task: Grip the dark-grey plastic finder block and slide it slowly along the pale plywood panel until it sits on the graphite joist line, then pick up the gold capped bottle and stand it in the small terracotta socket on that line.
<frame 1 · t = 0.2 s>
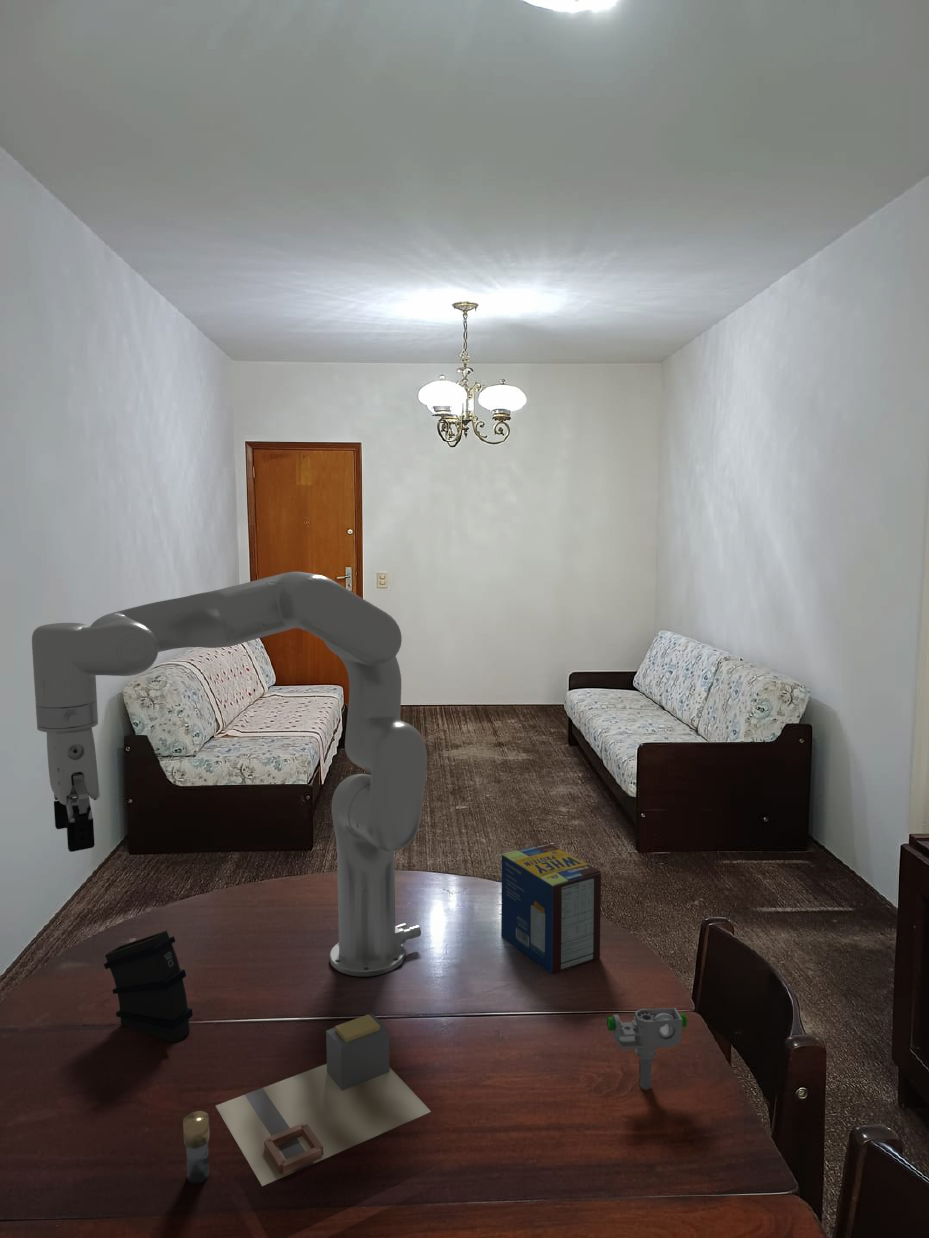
hand: (74, 837, 122), 31 cm above the table, fingers open, 9 cm apart
magazine: (149, 1028, 131), on the table
mechanical component: (644, 1086, 118), on the table
finder: (358, 1071, 119), point 1 cm above the table, touching board
protein box: (548, 948, 155), on the table
board: (322, 1117, 112), on the table
gold capped bottle: (198, 1175, 102), on the table
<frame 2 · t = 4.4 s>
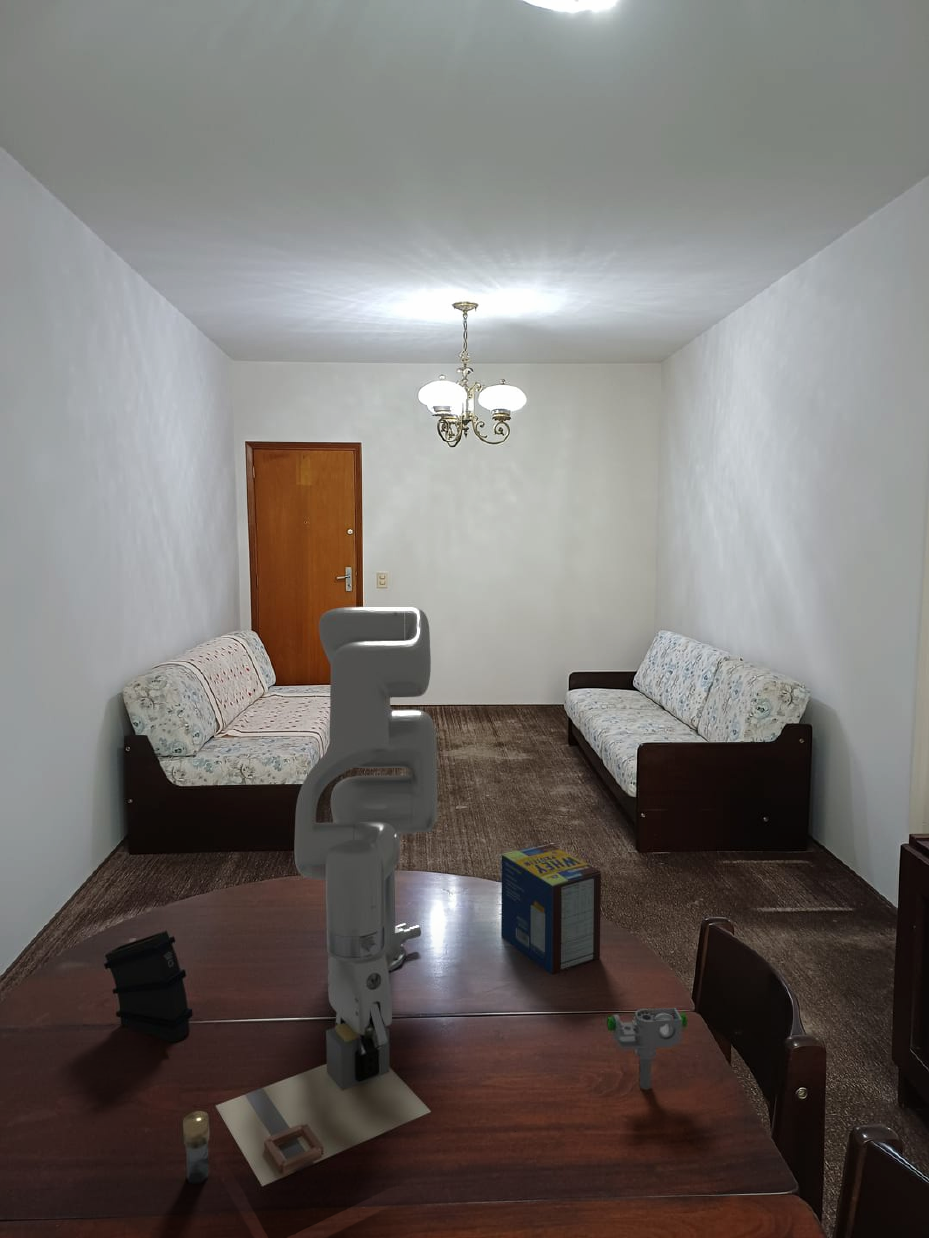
hand: (358, 1065, 119), 2 cm above the table, fingers closed on finder, 4 cm apart
finder: (358, 1071, 119), point 1 cm above the table, touching board, gripper
everything else where it was.
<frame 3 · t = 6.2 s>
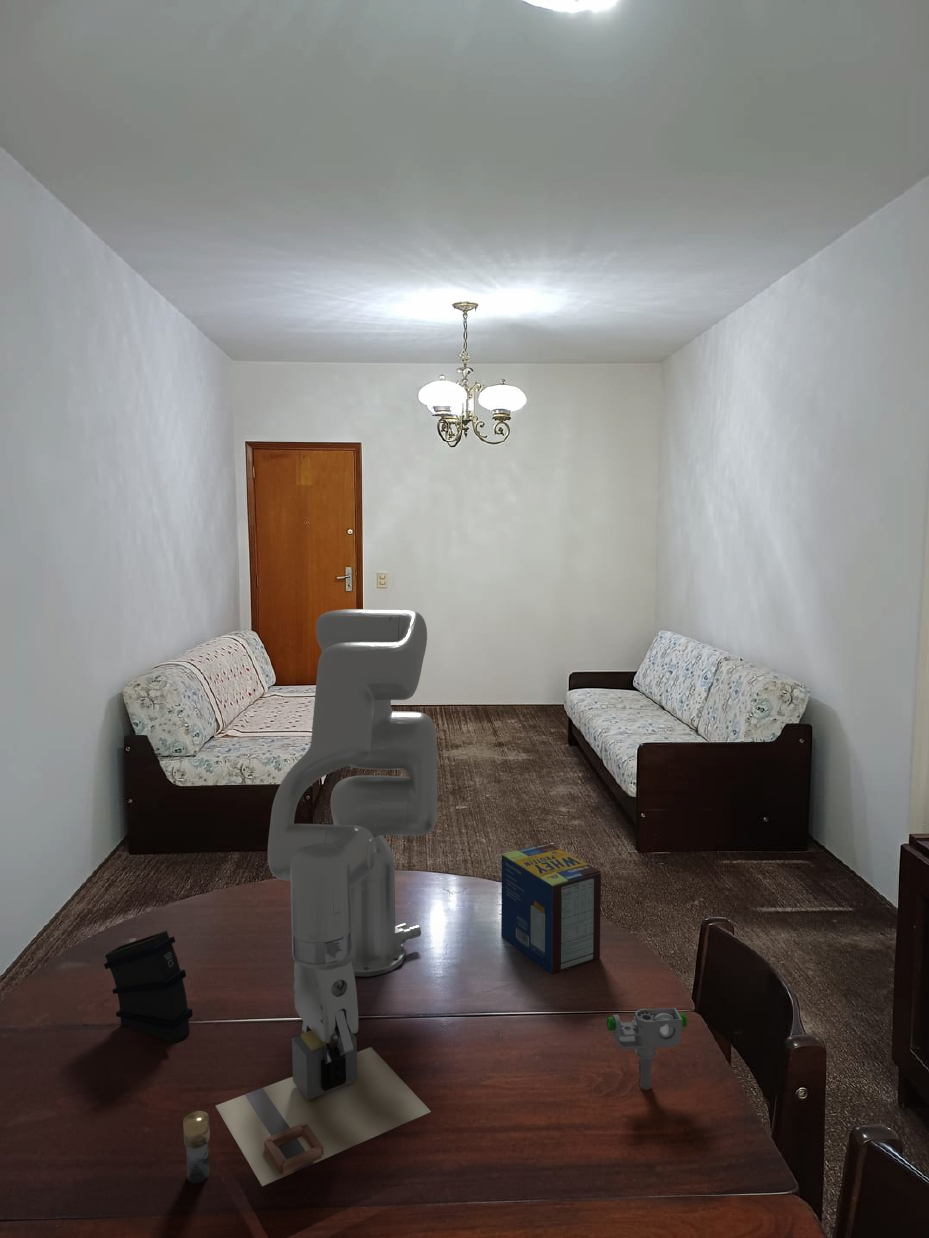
hand: (324, 1073, 116), 3 cm above the table, fingers closed on finder, 4 cm apart
finder: (325, 1080, 116), point 2 cm above the table, touching gripper
everything else where it was.
when the fingers open (3 cm above the table, at t = 7.9 s): finder stays where it is, resting on board.
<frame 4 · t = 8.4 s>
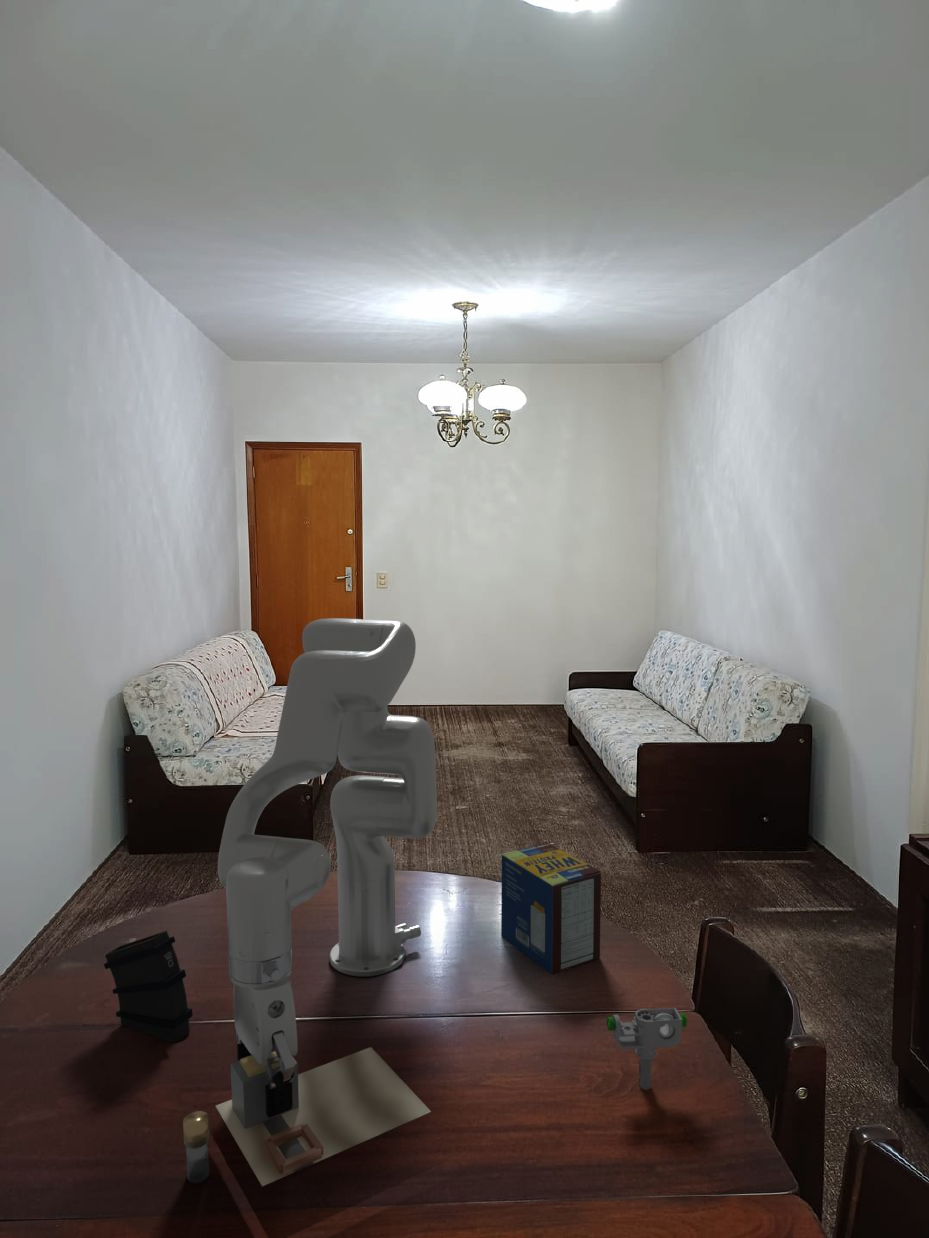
hand: (264, 1090, 111), 4 cm above the table, fingers open, 9 cm apart
finder: (265, 1107, 112), point 1 cm above the table, touching board
everything else where it was.
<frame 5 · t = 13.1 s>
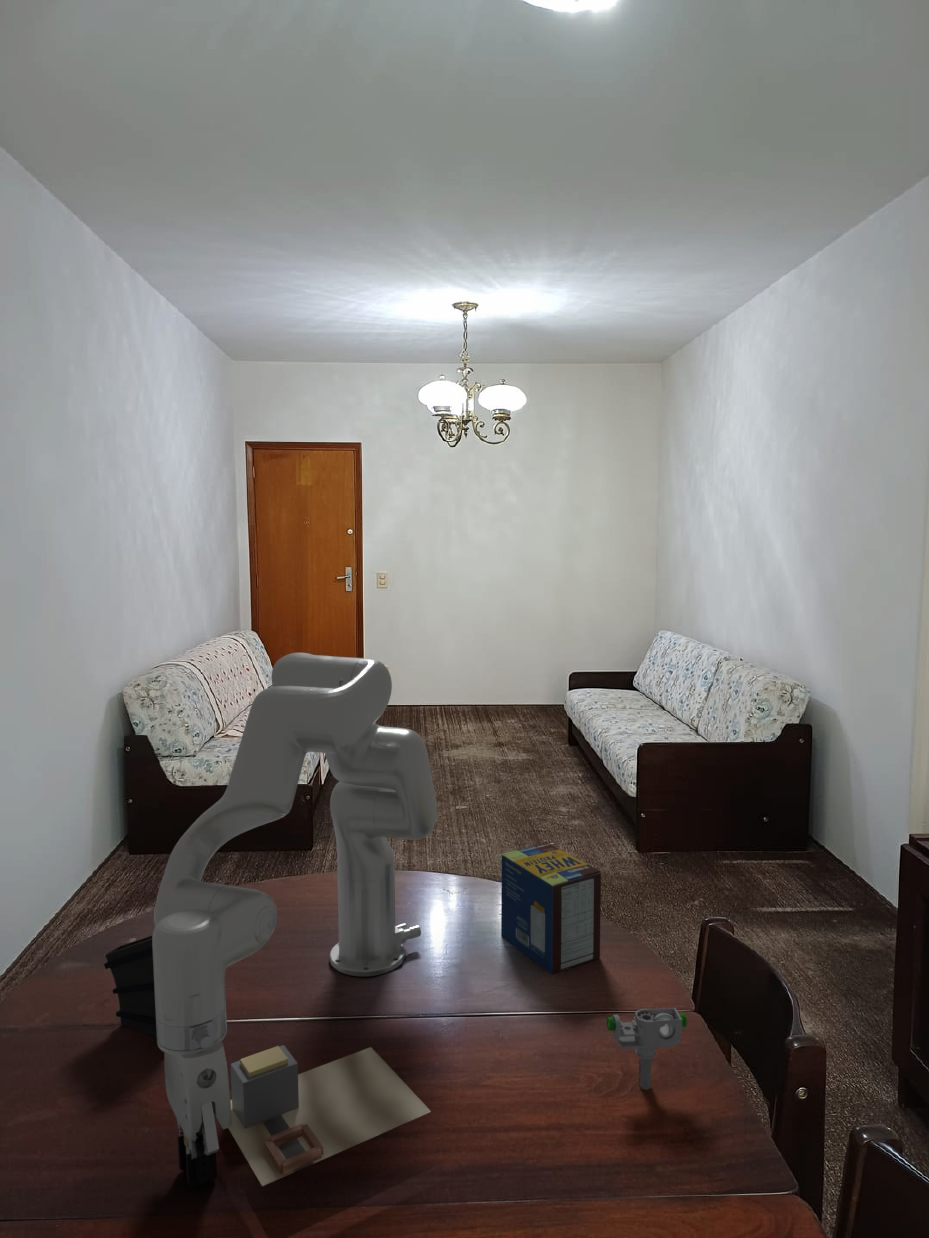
hand: (198, 1172, 102), 0 cm above the table, fingers closed on gold capped bottle, 2 cm apart
gold capped bottle: (198, 1175, 102), on the table, touching gripper
everything else where it was.
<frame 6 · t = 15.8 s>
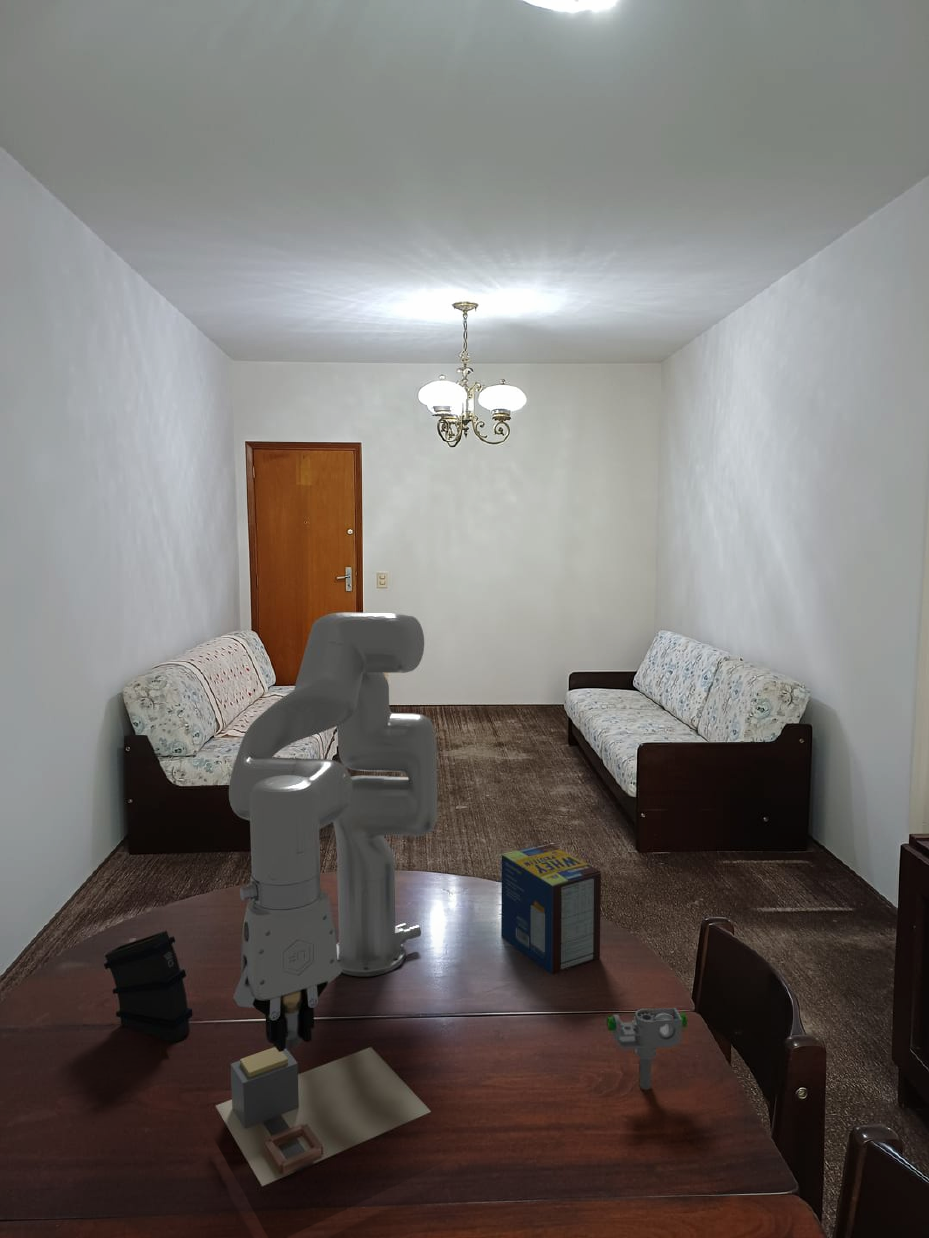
hand: (290, 1039, 102), 15 cm above the table, fingers closed on gold capped bottle, 2 cm apart
gold capped bottle: (290, 1042, 102), point 15 cm above the table, touching gripper
everything else where it was.
when the fingers open (3 cm above the table, at t = 18.7 s): gold capped bottle stays where it is, resting on board.
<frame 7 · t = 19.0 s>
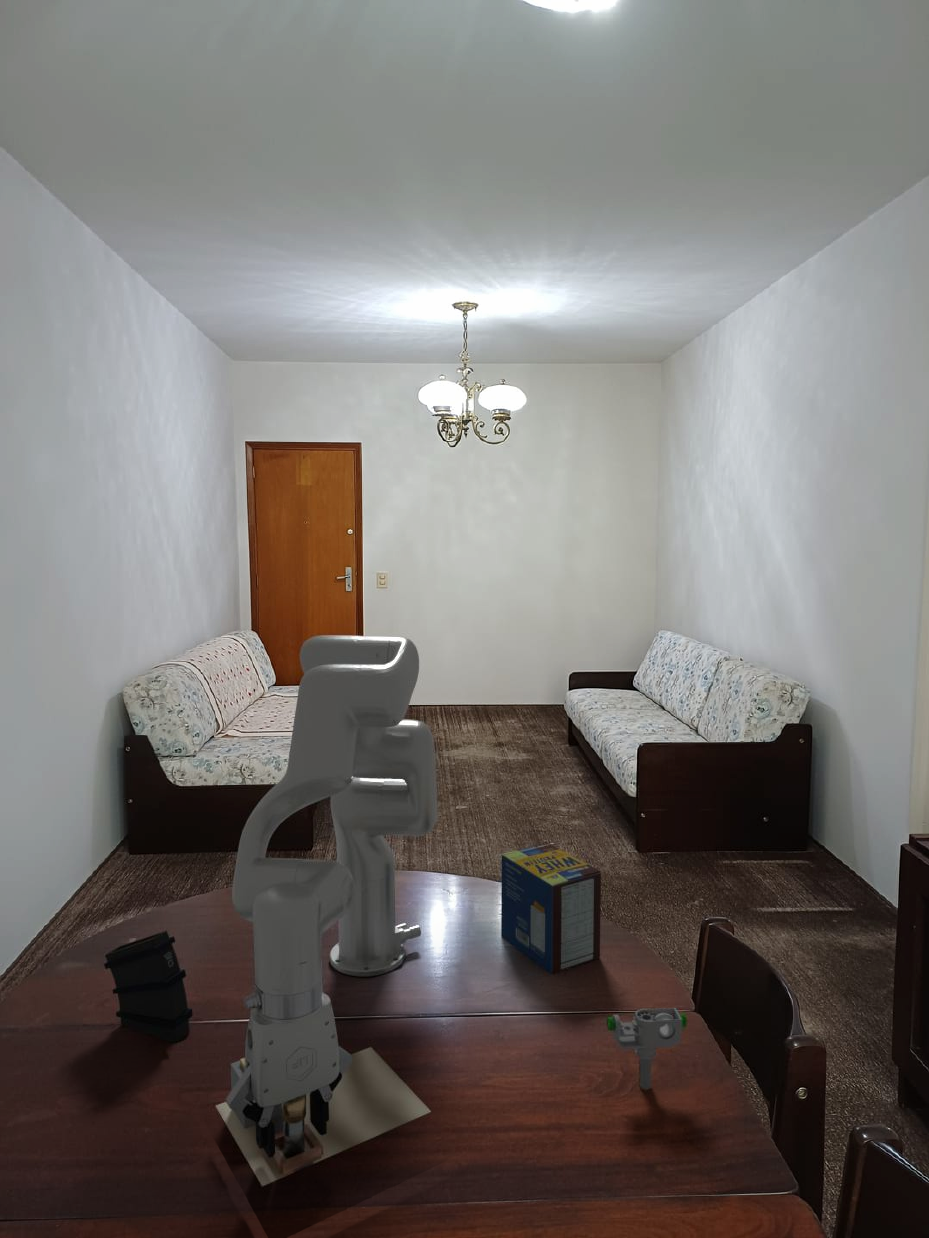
hand: (293, 1137, 104), 3 cm above the table, fingers open, 5 cm apart
gold capped bottle: (294, 1150, 104), point 1 cm above the table, touching board
everything else where it was.
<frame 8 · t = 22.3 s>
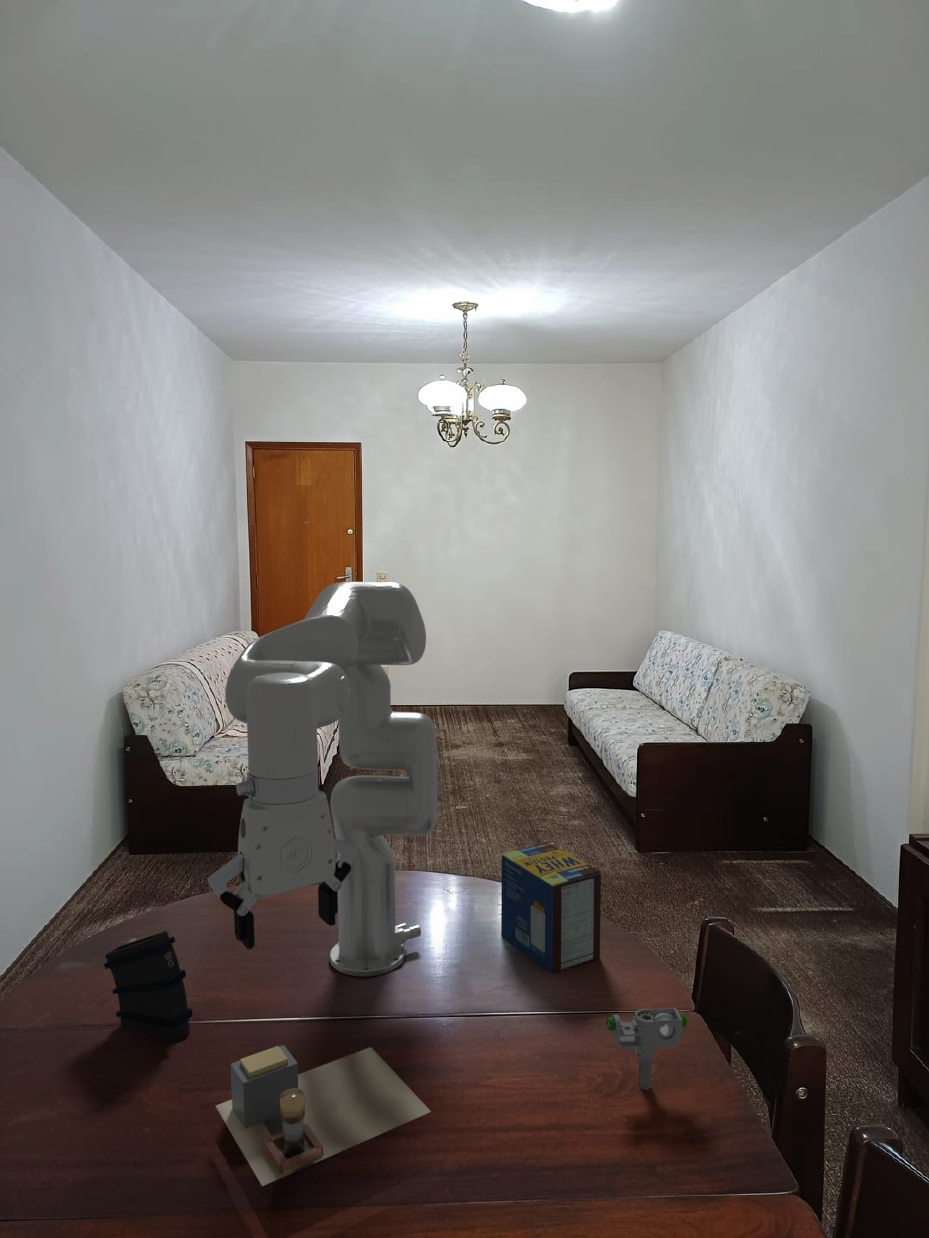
hand: (287, 932, 101), 28 cm above the table, fingers open, 9 cm apart
nothing on the table moved.
at the end: finder inside the target area (0.5 cm from its centre), point 1.2 cm above the table; gold capped bottle 0.1 cm from the target spot, point 1.2 cm above the table; gold capped bottle tilted 0° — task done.
